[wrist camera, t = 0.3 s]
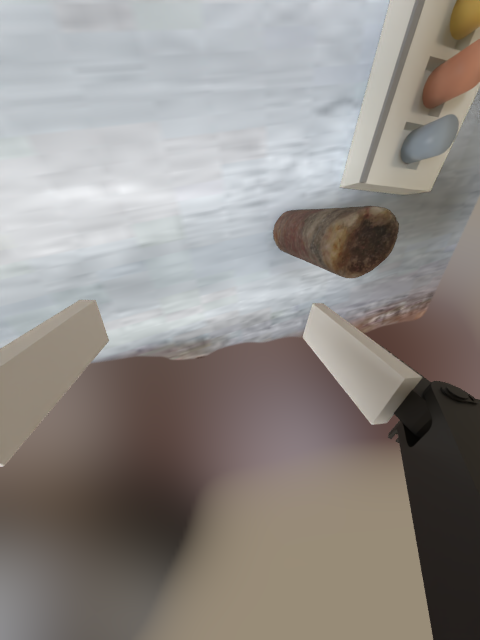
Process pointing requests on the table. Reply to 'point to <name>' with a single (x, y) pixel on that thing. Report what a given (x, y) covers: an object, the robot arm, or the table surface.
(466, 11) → the button mustard
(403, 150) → the button slate
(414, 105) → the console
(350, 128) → the table surface
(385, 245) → the brown rounded bar
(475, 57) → the button terracotta
